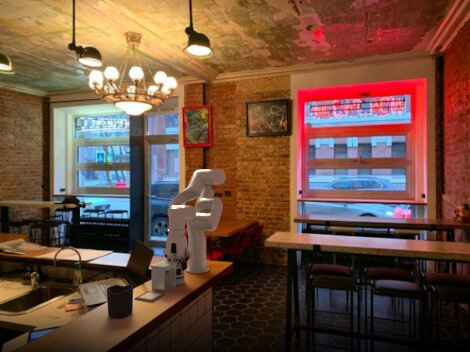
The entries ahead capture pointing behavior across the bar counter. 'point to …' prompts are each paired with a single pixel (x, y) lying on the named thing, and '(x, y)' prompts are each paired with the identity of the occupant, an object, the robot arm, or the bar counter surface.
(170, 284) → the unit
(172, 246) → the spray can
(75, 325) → the bar counter surface
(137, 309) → the bar counter surface
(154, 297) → the pad
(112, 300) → the pen holder
